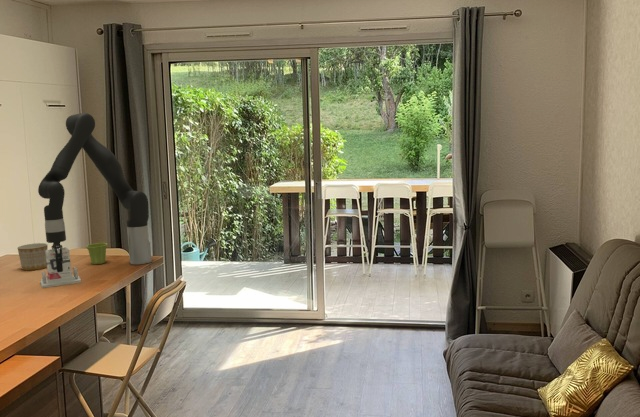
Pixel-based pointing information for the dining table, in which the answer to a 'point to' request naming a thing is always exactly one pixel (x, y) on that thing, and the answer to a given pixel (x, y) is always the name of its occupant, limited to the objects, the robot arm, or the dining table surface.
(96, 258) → the plant pot
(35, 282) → the dining table surface
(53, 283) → the white pegged base plate
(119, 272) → the dining table surface
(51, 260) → the ink box
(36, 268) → the planter
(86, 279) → the dining table surface
